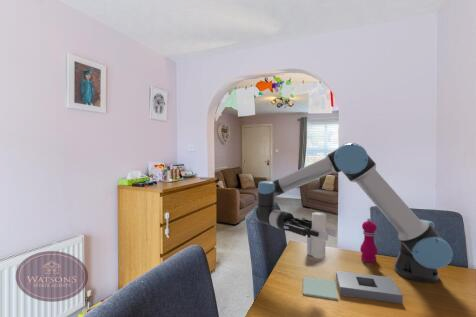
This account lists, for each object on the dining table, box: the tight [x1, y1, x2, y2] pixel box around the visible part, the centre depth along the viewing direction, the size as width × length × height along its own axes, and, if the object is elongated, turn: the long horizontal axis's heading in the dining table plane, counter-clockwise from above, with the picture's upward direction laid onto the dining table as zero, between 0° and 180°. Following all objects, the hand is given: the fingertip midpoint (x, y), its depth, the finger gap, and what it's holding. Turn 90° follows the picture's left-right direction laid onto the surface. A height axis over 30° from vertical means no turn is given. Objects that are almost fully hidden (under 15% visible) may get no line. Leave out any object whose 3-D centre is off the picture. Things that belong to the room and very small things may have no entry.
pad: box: [302, 276, 339, 301], centre depth 93 cm, size 12×12×1 cm
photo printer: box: [306, 235, 313, 257], centre depth 124 cm, size 10×4×12 cm, turn 123°
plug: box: [311, 211, 327, 259], centre depth 92 cm, size 5×5×16 cm
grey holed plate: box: [335, 270, 404, 305], centre depth 92 cm, size 20×12×3 cm, turn 74°
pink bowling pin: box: [359, 217, 378, 263], centre depth 116 cm, size 7×7×20 cm
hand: (331, 234), depth 88 cm, fingers closed on plug, 5 cm apart
